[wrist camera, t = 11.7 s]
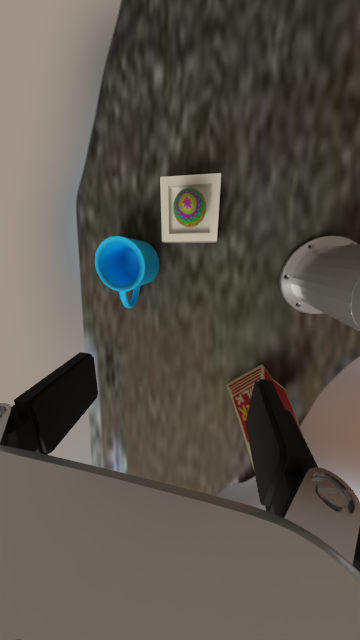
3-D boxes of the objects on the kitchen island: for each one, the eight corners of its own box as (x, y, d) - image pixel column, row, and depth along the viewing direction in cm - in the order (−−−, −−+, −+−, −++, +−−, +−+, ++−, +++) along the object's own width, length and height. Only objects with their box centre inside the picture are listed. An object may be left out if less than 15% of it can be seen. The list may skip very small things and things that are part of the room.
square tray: (220, 181, 29) (221, 172, 26) (216, 242, 32) (216, 241, 29) (165, 184, 31) (160, 176, 28) (166, 243, 34) (162, 241, 31)
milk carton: (225, 384, 41) (236, 489, 23) (261, 362, 38) (307, 463, 20) (251, 411, 43) (282, 532, 24) (287, 391, 39) (355, 513, 21)
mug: (119, 238, 35) (92, 233, 27) (160, 242, 34) (145, 238, 26) (120, 300, 39) (97, 310, 31) (157, 305, 38) (143, 317, 30)
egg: (212, 203, 29) (212, 190, 23) (197, 234, 31) (194, 229, 25) (185, 188, 29) (178, 171, 23) (171, 220, 31) (162, 212, 25)
